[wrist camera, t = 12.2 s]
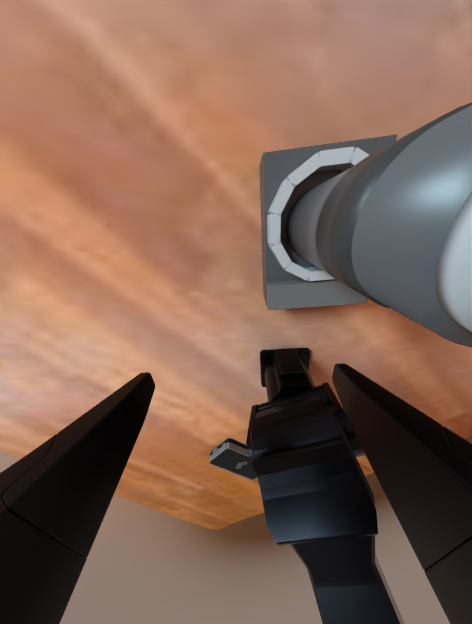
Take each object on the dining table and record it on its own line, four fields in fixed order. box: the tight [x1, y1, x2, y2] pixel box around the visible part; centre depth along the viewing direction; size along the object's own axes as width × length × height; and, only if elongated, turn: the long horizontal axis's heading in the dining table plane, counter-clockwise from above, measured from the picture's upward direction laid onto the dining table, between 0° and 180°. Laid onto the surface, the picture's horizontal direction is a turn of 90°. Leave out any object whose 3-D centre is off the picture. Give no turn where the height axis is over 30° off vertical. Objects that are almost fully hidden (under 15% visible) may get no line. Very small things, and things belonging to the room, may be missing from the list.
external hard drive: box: [209, 439, 258, 480], centre depth 35 cm, size 7×11×2 cm, turn 55°
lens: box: [286, 103, 472, 347], centre depth 9 cm, size 6×6×13 cm
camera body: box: [260, 135, 397, 310], centre depth 16 cm, size 12×9×4 cm
